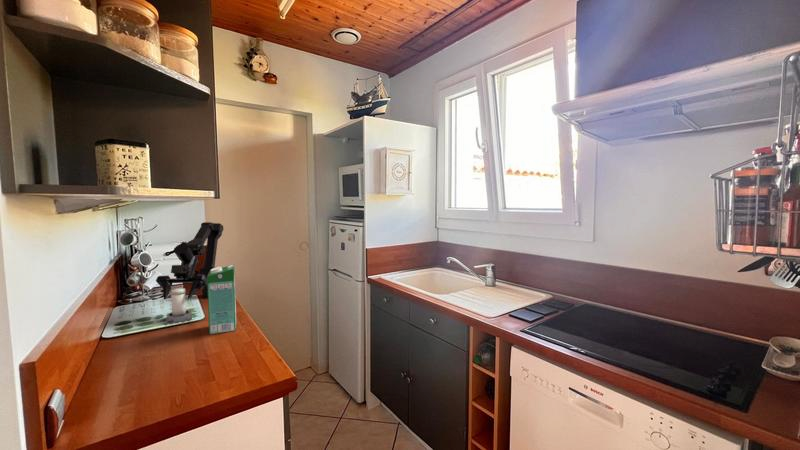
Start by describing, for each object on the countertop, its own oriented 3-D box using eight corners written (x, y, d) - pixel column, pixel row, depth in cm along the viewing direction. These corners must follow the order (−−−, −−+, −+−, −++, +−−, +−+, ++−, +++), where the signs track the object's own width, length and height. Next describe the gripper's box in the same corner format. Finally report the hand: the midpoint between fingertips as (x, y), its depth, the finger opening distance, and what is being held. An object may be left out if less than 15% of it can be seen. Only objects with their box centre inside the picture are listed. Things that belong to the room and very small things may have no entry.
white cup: (184, 314, 143) (183, 287, 141) (188, 317, 139) (187, 289, 138) (170, 318, 139) (169, 289, 138) (174, 321, 135) (173, 291, 134)
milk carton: (211, 325, 133) (209, 265, 131) (236, 322, 136) (234, 263, 134) (209, 334, 125) (206, 270, 122) (235, 330, 128) (233, 268, 126)
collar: (191, 314, 145) (191, 308, 145) (191, 320, 138) (191, 314, 138) (167, 318, 140) (166, 312, 140) (165, 325, 133) (165, 318, 133)
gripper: (157, 257, 139) (142, 290, 129) (204, 256, 142) (194, 288, 132) (167, 271, 147) (155, 302, 138) (212, 270, 151) (203, 301, 141)
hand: (176, 298), depth 137 cm, fingers open, 9 cm apart
